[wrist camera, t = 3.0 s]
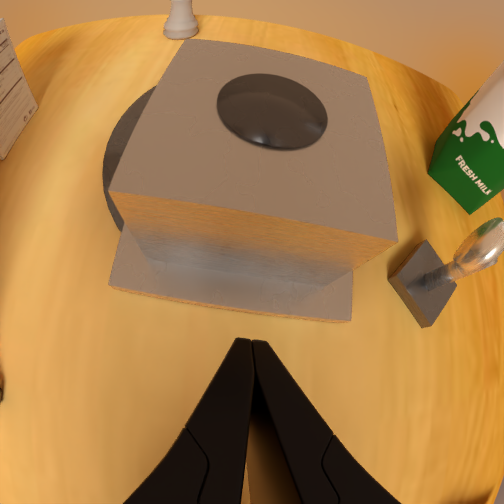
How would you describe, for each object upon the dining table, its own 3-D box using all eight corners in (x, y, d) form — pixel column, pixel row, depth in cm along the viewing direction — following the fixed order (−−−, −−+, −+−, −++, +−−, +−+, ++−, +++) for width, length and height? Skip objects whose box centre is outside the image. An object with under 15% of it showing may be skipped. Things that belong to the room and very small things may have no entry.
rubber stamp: (421, 328, 19) (520, 302, 10) (387, 279, 20) (482, 230, 11) (447, 288, 21) (532, 252, 12) (417, 244, 22) (498, 191, 13)
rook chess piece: (195, 41, 27) (199, -15, 19) (159, 41, 26) (158, -13, 19) (200, 27, 28) (205, -23, 21) (167, 27, 28) (167, -23, 20)
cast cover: (343, 323, 18) (438, 295, 10) (114, 289, 17) (43, 233, 8) (340, 146, 23) (388, 70, 15) (170, 114, 22) (165, 23, 13)
